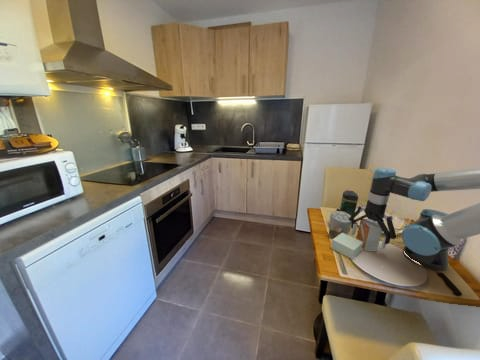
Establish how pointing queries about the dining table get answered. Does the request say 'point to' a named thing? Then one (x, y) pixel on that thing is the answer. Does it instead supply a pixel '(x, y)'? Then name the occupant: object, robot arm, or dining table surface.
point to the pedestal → (347, 245)
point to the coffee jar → (349, 202)
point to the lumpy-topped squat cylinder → (340, 220)
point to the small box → (369, 234)
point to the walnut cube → (334, 232)
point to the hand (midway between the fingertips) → (367, 241)
